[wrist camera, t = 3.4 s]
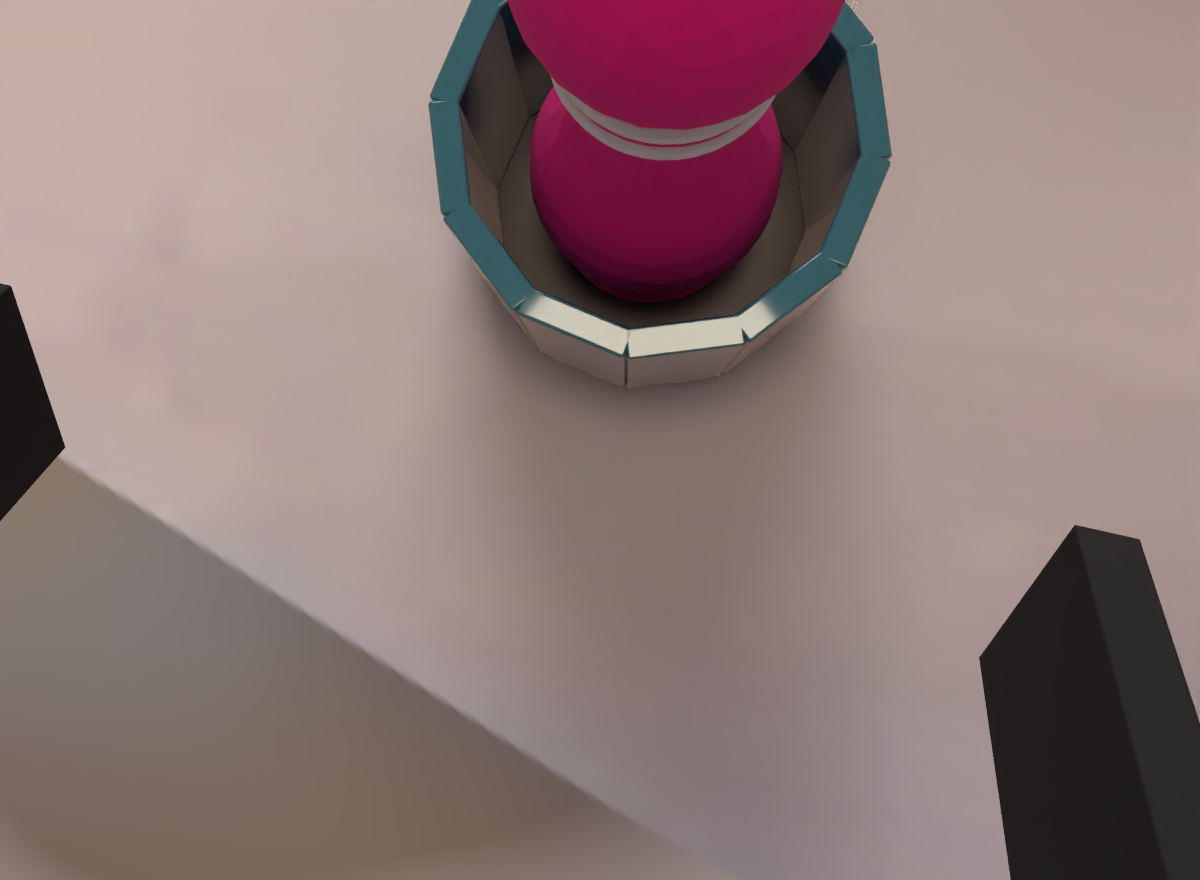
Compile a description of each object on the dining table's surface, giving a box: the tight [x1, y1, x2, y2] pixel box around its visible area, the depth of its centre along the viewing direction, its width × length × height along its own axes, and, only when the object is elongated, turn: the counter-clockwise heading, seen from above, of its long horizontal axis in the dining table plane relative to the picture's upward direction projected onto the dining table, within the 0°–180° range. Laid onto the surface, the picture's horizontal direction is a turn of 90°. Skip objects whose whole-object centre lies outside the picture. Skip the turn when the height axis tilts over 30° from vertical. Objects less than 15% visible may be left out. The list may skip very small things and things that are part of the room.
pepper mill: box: [507, 0, 845, 303], centre depth 22 cm, size 7×7×20 cm
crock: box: [428, 0, 892, 388], centre depth 28 cm, size 12×12×8 cm
